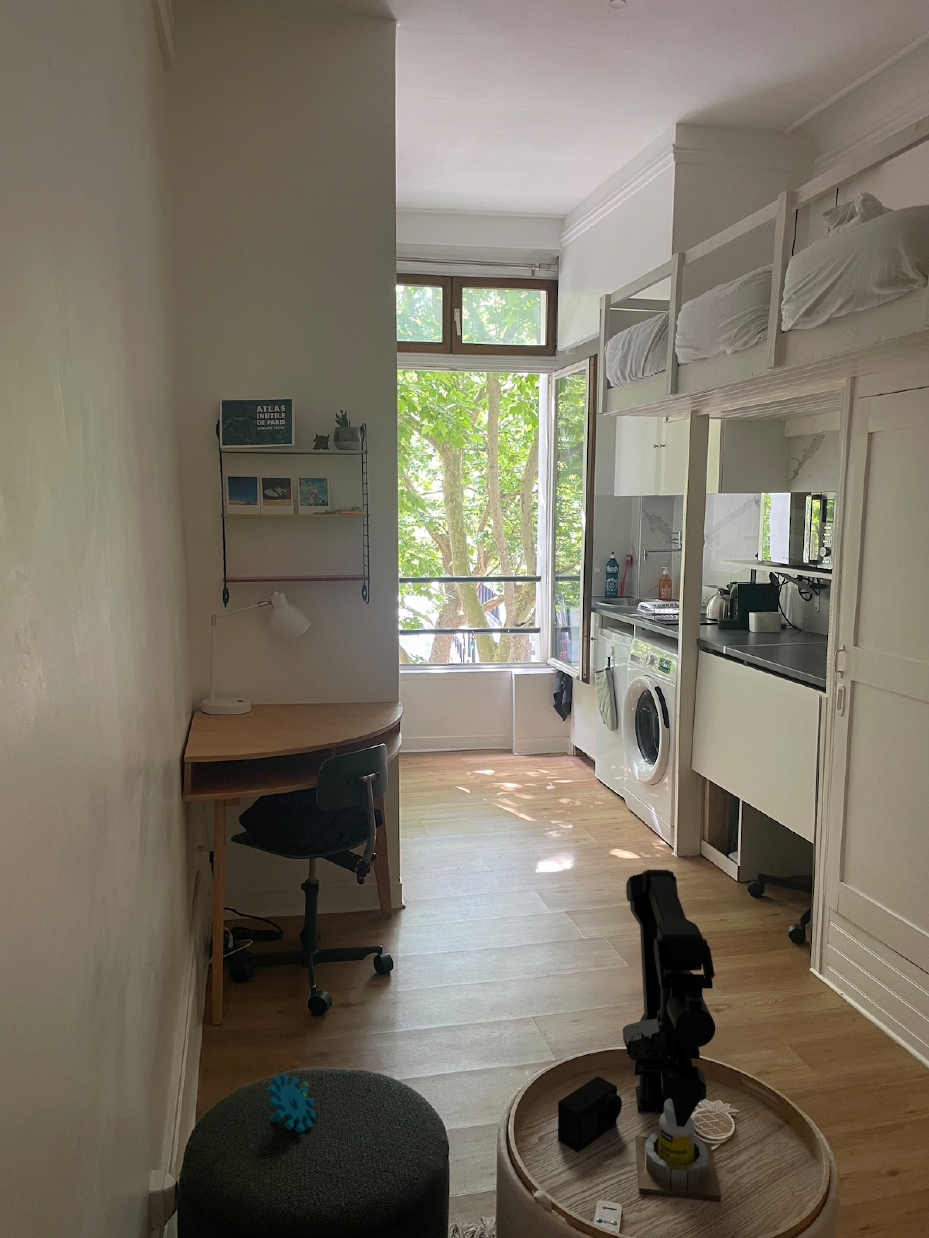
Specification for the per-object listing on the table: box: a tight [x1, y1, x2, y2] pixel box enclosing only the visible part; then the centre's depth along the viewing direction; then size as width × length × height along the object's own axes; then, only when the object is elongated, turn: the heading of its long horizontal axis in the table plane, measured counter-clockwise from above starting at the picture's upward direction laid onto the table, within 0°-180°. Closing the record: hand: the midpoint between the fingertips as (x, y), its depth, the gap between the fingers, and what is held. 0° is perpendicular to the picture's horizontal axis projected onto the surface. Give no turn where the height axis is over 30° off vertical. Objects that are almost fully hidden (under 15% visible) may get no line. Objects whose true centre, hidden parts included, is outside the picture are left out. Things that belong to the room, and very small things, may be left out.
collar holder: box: [634, 1130, 722, 1203], centre depth 141 cm, size 12×12×4 cm
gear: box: [267, 1072, 317, 1134], centre depth 153 cm, size 11×6×10 cm
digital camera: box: [557, 1075, 623, 1154], centre depth 149 cm, size 10×5×7 cm, turn 133°
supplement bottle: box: [658, 1098, 695, 1165], centre depth 141 cm, size 5×5×10 cm
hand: (677, 1106), depth 140 cm, fingers open, 9 cm apart
